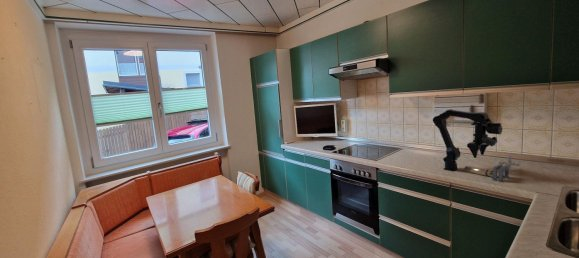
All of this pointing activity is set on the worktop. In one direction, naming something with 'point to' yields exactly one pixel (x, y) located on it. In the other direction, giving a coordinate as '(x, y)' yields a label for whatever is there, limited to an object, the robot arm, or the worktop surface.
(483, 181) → the worktop surface
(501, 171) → the firebox collars
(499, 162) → the pipe connector
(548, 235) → the worktop surface
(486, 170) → the tube
